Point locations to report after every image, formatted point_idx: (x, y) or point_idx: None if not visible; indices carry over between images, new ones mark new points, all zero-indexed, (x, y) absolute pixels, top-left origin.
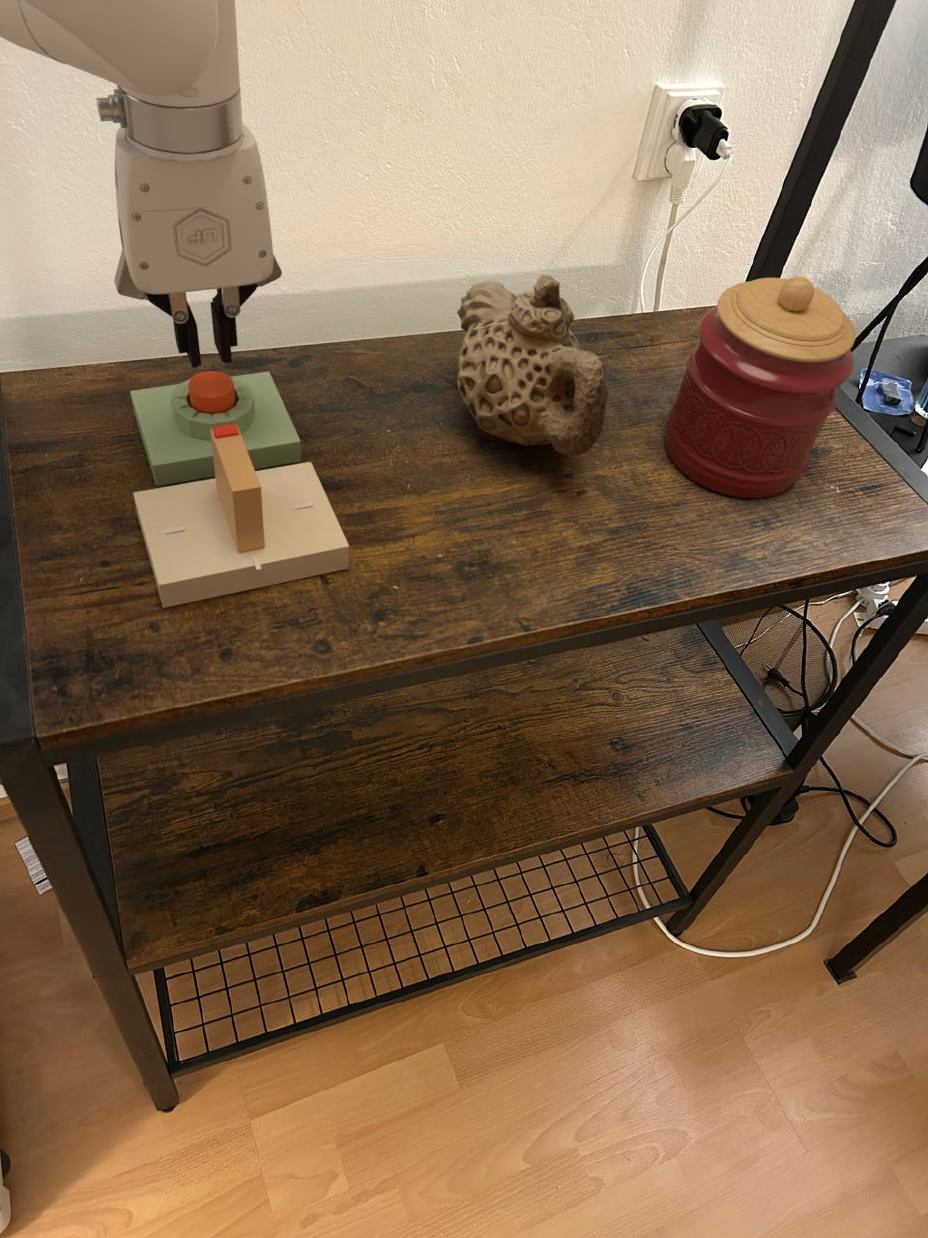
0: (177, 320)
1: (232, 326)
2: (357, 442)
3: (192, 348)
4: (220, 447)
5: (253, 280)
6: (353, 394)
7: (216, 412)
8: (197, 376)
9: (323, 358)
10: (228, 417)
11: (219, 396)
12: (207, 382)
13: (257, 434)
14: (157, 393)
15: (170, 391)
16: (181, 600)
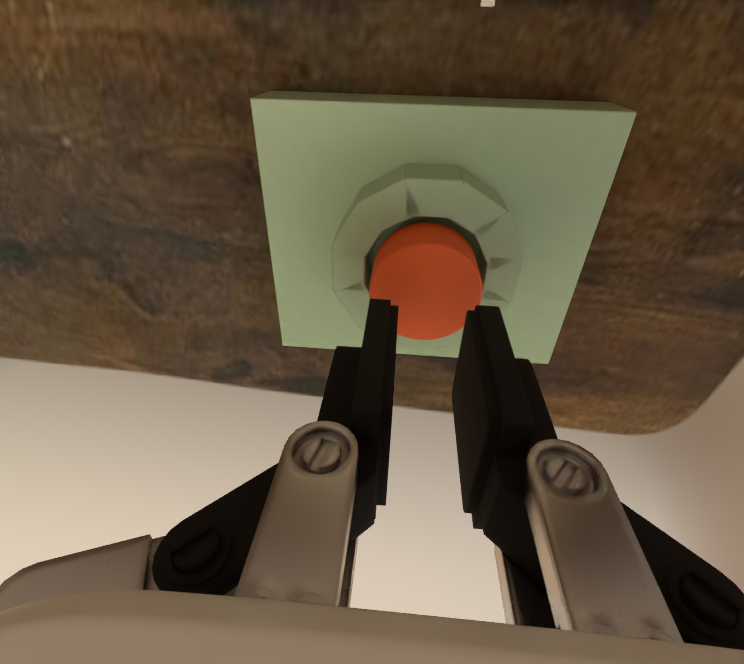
0: (570, 456)
1: (337, 396)
2: (136, 122)
3: (504, 348)
4: None
5: (70, 634)
6: (143, 272)
7: (432, 223)
8: (446, 329)
9: (192, 367)
10: (411, 192)
11: (421, 242)
12: (431, 302)
13: (349, 159)
14: None
15: None
16: None
